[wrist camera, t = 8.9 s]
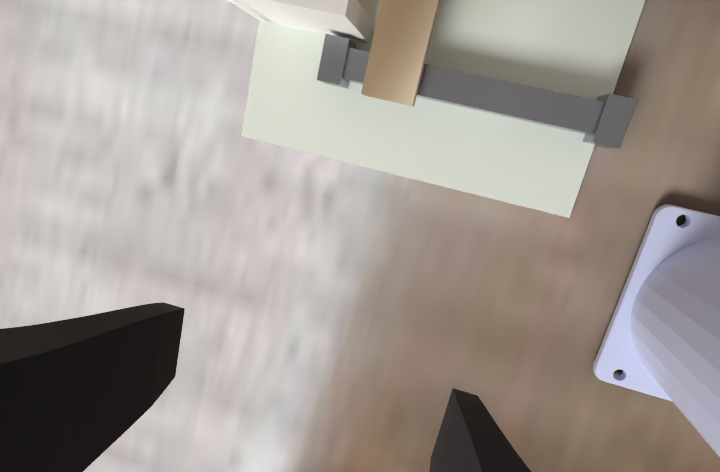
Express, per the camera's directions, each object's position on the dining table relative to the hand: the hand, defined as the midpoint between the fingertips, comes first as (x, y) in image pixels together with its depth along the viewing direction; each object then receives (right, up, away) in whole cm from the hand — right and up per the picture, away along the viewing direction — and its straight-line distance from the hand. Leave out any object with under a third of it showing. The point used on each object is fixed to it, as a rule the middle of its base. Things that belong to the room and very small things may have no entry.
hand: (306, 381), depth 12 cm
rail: (+6, +10, +8) cm, 14 cm away
